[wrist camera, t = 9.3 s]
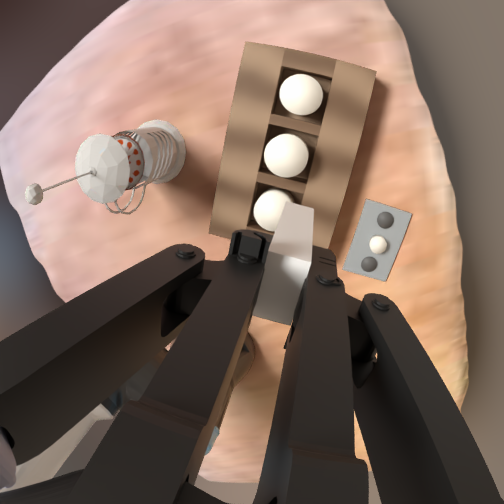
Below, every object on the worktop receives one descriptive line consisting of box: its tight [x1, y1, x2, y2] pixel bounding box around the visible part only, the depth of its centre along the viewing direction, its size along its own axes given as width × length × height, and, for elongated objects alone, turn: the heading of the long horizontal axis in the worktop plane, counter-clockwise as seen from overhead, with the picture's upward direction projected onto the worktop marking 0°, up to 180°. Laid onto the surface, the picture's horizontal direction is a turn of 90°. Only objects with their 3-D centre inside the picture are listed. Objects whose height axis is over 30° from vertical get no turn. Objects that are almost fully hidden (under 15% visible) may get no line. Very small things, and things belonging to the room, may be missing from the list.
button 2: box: [264, 133, 309, 177], centre depth 37 cm, size 5×5×3 cm
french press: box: [25, 120, 186, 214], centre depth 34 cm, size 10×12×25 cm
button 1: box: [254, 188, 295, 231], centre depth 41 cm, size 5×5×3 cm
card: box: [342, 199, 412, 281], centre depth 43 cm, size 11×7×2 cm, turn 168°
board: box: [209, 42, 377, 249], centre depth 39 cm, size 26×16×4 cm, turn 168°
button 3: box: [280, 74, 323, 115], centre depth 35 cm, size 5×5×3 cm
